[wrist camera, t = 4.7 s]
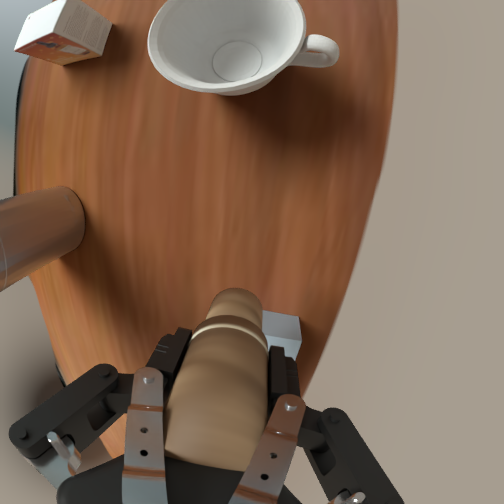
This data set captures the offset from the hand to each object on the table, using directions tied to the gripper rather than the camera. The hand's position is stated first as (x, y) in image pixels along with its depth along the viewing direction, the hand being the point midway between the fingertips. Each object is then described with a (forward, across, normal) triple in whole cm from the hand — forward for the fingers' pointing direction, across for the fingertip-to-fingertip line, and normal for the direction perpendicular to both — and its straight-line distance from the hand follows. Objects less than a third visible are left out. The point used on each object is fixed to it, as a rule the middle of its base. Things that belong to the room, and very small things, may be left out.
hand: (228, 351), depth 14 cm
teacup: (+17, +3, -20) cm, 27 cm away
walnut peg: (+4, 0, 0) cm, 4 cm away
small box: (+17, +27, -25) cm, 41 cm away
